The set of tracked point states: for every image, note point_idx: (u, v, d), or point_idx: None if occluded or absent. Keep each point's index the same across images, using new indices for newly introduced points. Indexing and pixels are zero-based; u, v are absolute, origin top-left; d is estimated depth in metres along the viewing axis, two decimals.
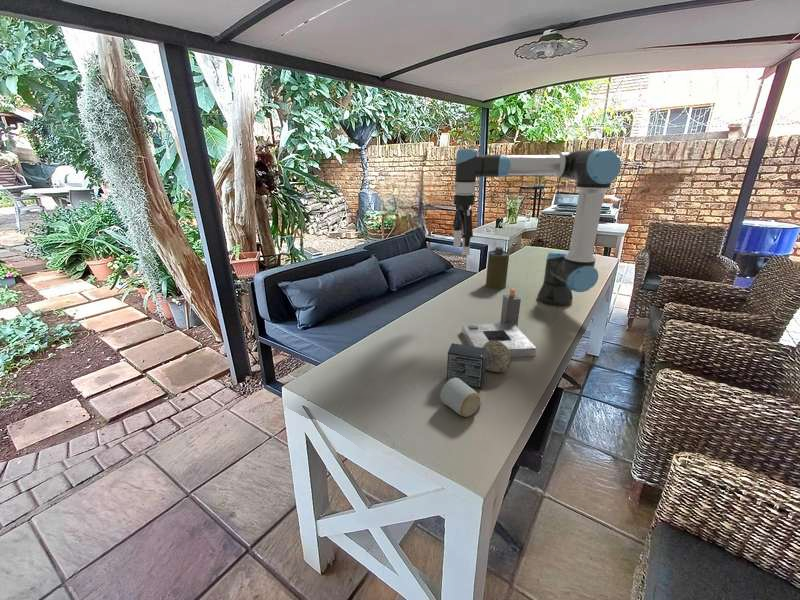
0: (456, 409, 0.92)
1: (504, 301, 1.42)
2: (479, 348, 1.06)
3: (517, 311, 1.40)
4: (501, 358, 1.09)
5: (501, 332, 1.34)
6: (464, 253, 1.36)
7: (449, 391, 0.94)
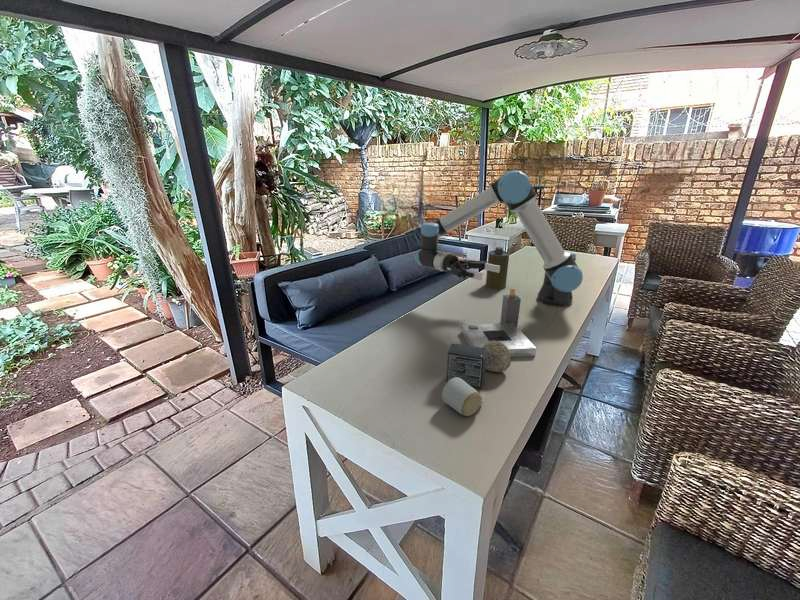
0: (457, 408, 0.92)
1: (504, 301, 1.42)
2: (479, 348, 1.06)
3: (517, 311, 1.40)
4: (501, 358, 1.09)
5: (501, 332, 1.34)
6: (479, 278, 1.40)
7: (450, 390, 0.94)
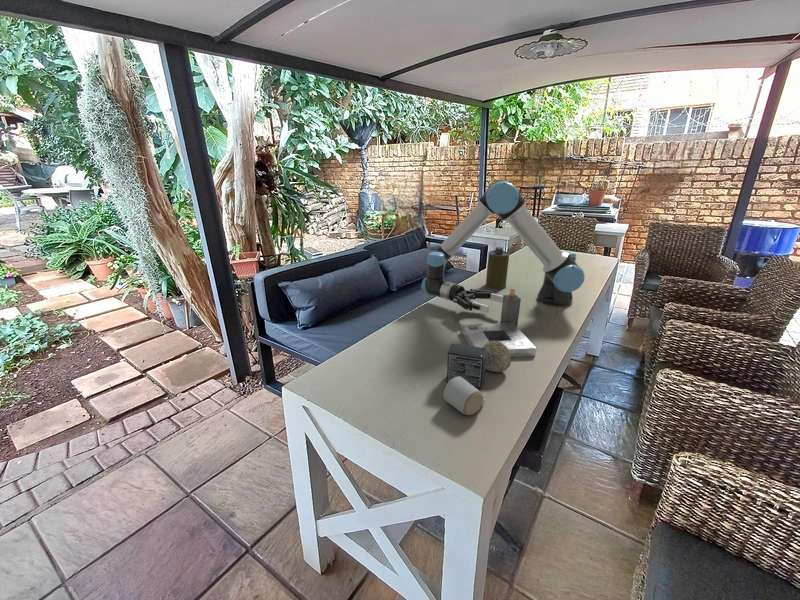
0: (459, 408, 0.93)
1: (504, 301, 1.42)
2: (479, 348, 1.06)
3: (517, 311, 1.40)
4: (501, 358, 1.09)
5: (501, 332, 1.34)
6: (486, 310, 1.41)
7: (452, 390, 0.95)
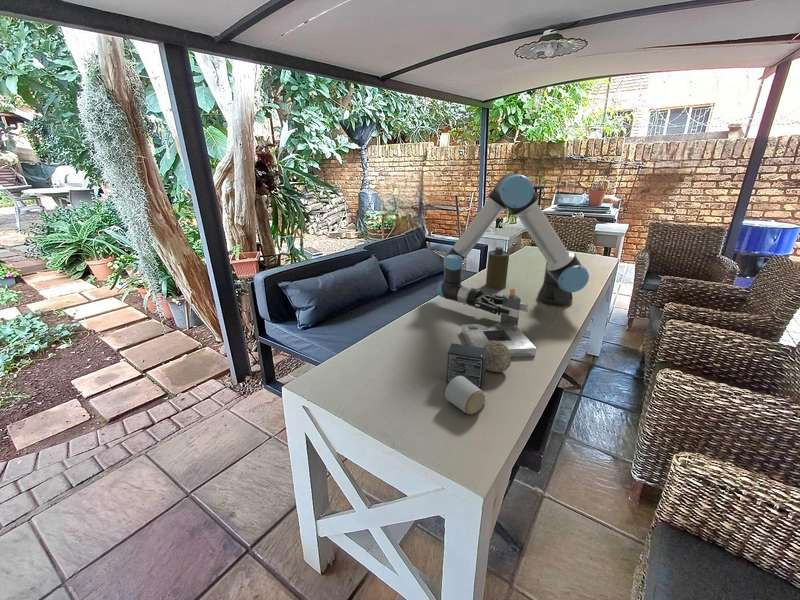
0: (461, 407, 0.93)
1: (504, 301, 1.42)
2: (479, 348, 1.06)
3: None
4: (501, 358, 1.09)
5: (501, 332, 1.34)
6: (516, 315, 1.37)
7: (454, 389, 0.95)
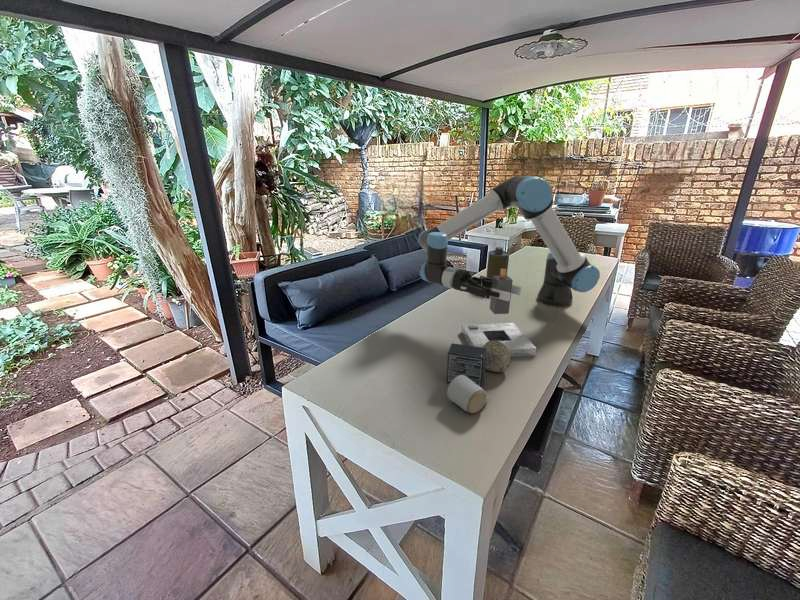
0: (463, 406, 0.93)
1: (494, 283, 1.23)
2: (479, 348, 1.06)
3: None
4: (501, 358, 1.09)
5: (501, 332, 1.34)
6: (507, 298, 1.19)
7: (456, 388, 0.95)
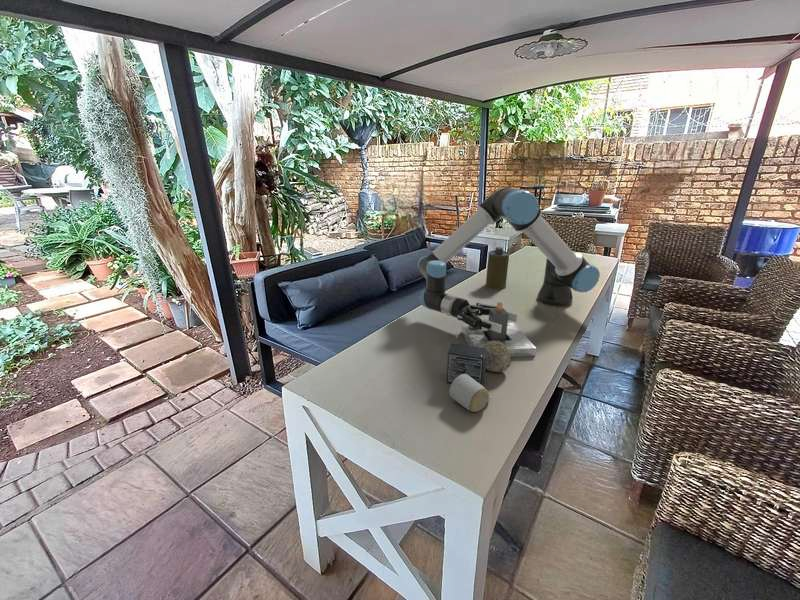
0: (465, 404, 0.94)
1: (491, 316, 1.28)
2: (479, 348, 1.06)
3: (505, 327, 1.26)
4: (501, 358, 1.09)
5: None
6: (498, 330, 1.22)
7: (458, 387, 0.96)
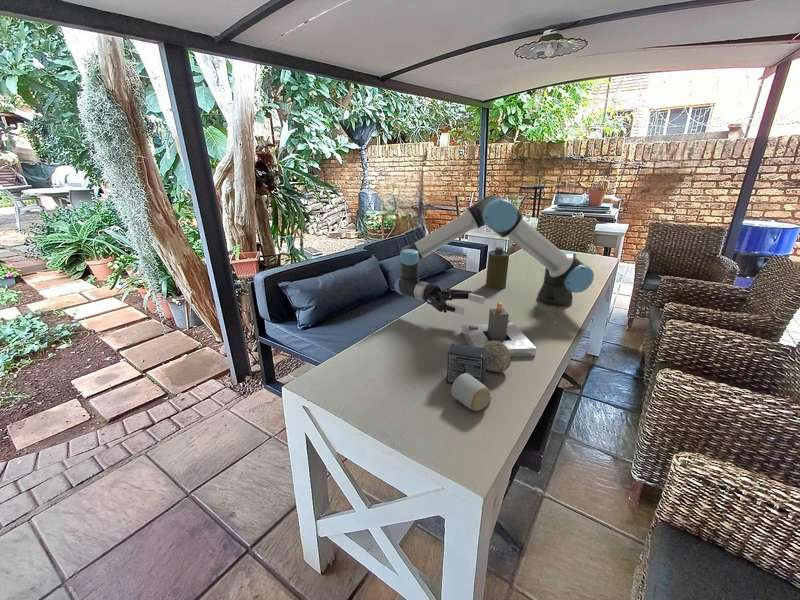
0: (467, 403, 0.94)
1: (491, 316, 1.28)
2: (479, 348, 1.06)
3: (505, 327, 1.26)
4: (501, 358, 1.09)
5: None
6: (461, 312, 1.29)
7: (460, 386, 0.96)
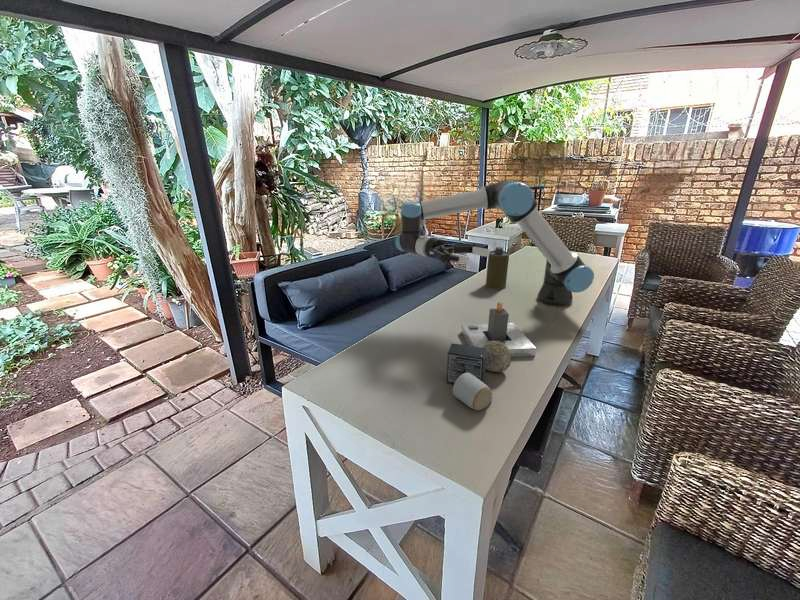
0: (468, 403, 0.95)
1: (491, 316, 1.28)
2: (479, 348, 1.06)
3: (505, 327, 1.26)
4: (501, 358, 1.09)
5: None
6: (465, 262, 1.22)
7: (461, 385, 0.96)
